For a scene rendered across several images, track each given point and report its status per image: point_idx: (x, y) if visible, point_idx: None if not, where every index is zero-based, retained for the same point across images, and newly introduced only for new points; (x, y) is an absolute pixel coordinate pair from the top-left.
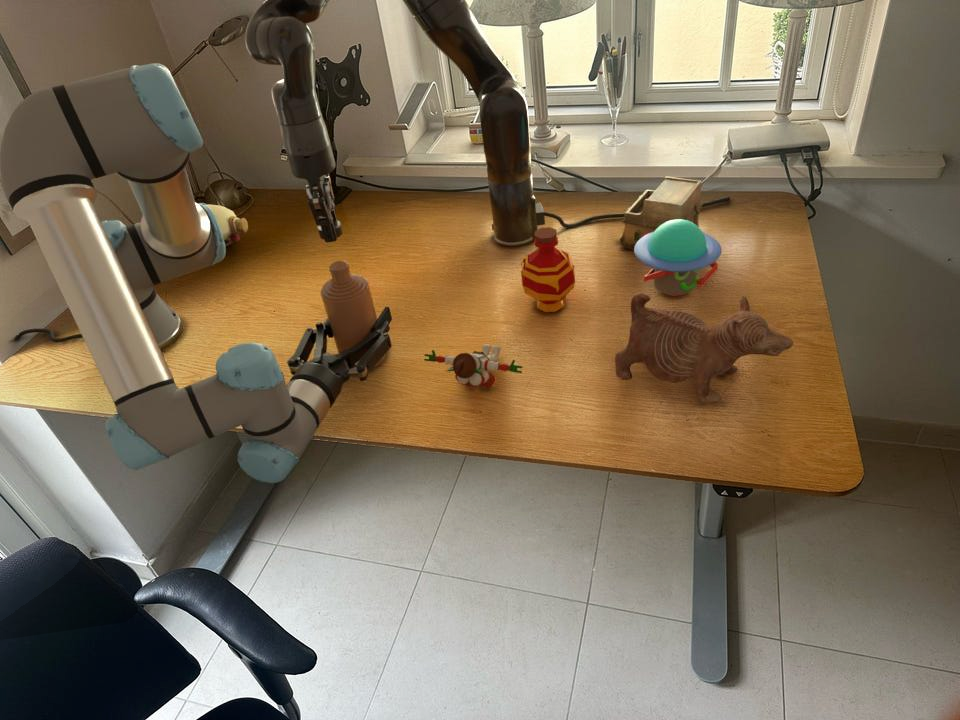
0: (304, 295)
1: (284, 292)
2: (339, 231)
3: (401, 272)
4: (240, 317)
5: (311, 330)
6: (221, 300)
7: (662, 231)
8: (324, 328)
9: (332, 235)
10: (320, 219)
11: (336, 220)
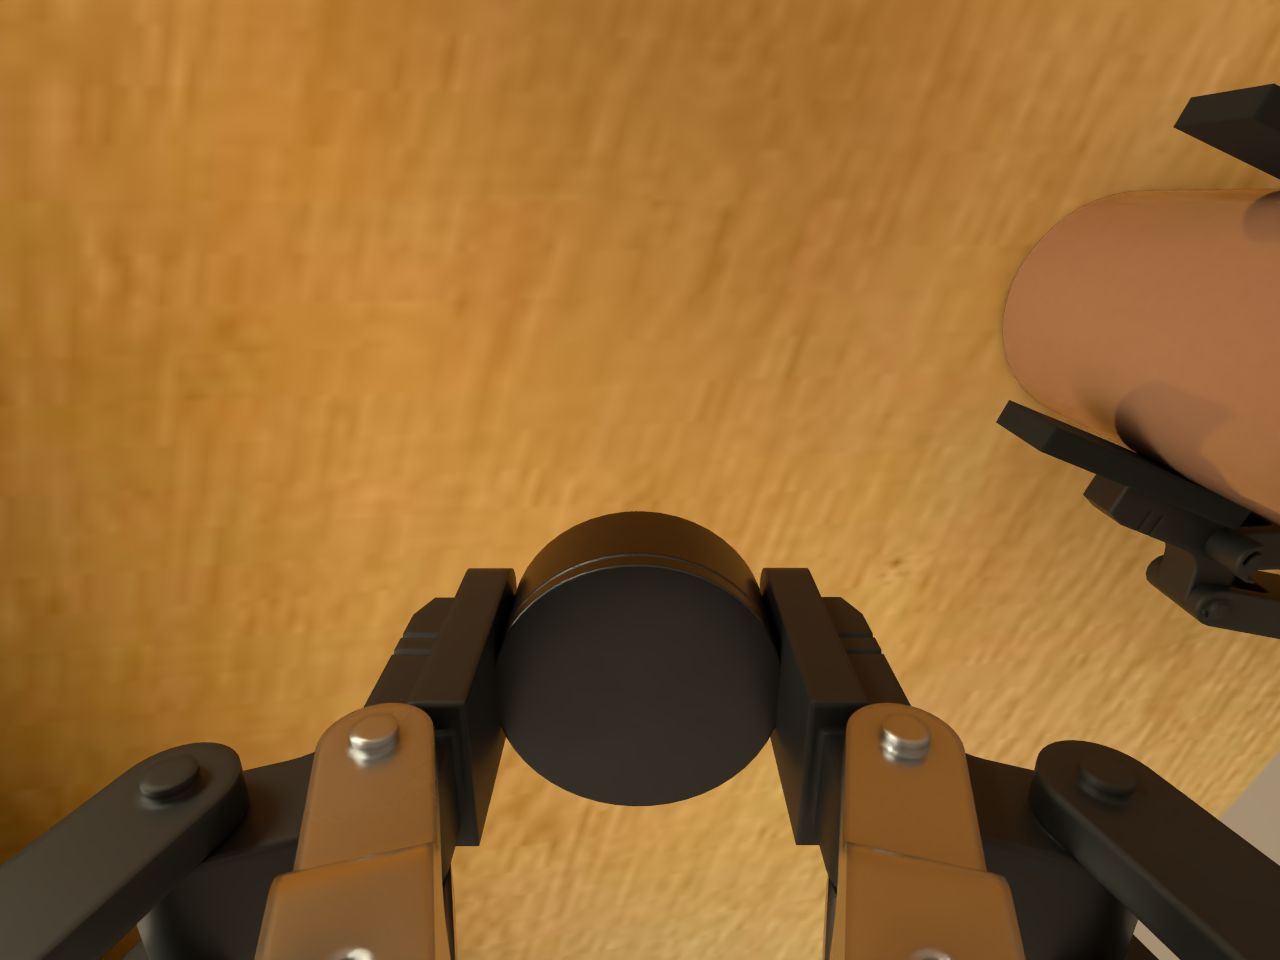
0: None
1: None
2: (718, 555)
3: (307, 78)
4: (577, 838)
5: (1232, 596)
6: None
7: None
8: (1216, 526)
9: (872, 634)
10: (1120, 949)
11: (522, 617)
